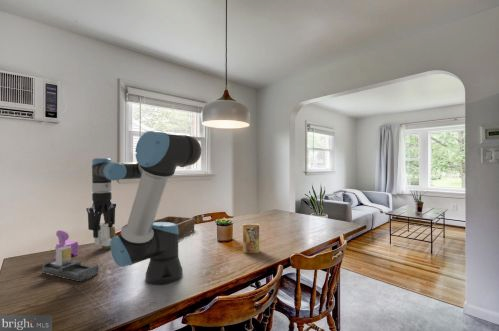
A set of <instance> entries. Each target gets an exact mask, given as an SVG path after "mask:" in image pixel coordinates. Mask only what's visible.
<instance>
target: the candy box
mask: <svg viewBox="0 0 499 331" xmlns="http://www.w3.org/2000/svg"><path fill="white" fill-rule="evenodd" d="M242 232H243V233H242V235H243V236H242V237H243V238H242V241H243V243H242V244H243V245H242V250H243V254H248V253H250V254H252V253H253V254H258V253H260V224H259V223H243V225H242Z"/></svg>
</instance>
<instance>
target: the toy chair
mask: <svg viewBox="0 0 499 331" xmlns="http://www.w3.org/2000/svg"><path fill="white" fill-rule="evenodd" d="M55 235H56V237H57V239H58V243H57V244H56V245H55V250H56V249H58V248H61V247H64V246H69V247H71V254H73V255H72V256H76V255H78V256H79V243H78V241H72V240H69V236H70V235H69V233H68V232H67V231H65V230H61V229H59V230H57V231H56V234H55ZM54 254H55V255H54V257H53V259H56V253H54Z"/></svg>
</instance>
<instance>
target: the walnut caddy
mask: <svg viewBox="0 0 499 331" xmlns="http://www.w3.org/2000/svg"><path fill="white" fill-rule="evenodd" d="M155 222H169V223H174V224H176V225H177V226H178V233H179V234H178V239H179V237H180V238H182V237H185V235H188V234H190V233H192V232H194V231H195V217H185V216H183V217H182V216H175V215H167V216H164V217H161V218H158V219H154V222H153V223H155Z"/></svg>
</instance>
